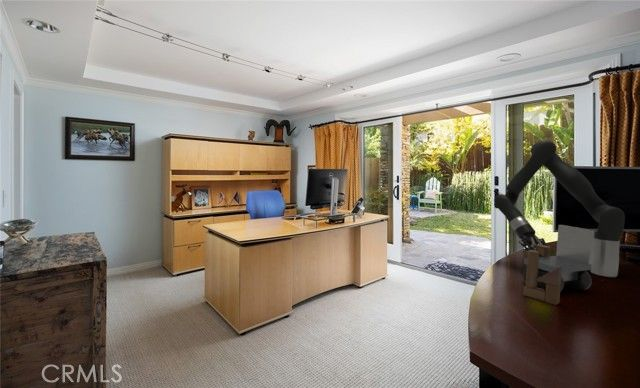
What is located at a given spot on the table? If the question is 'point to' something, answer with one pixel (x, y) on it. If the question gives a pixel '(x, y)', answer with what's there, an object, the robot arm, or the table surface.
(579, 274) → the trolley
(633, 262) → the table surface
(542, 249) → the block
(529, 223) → the robot arm
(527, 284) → the tan wooden frame
